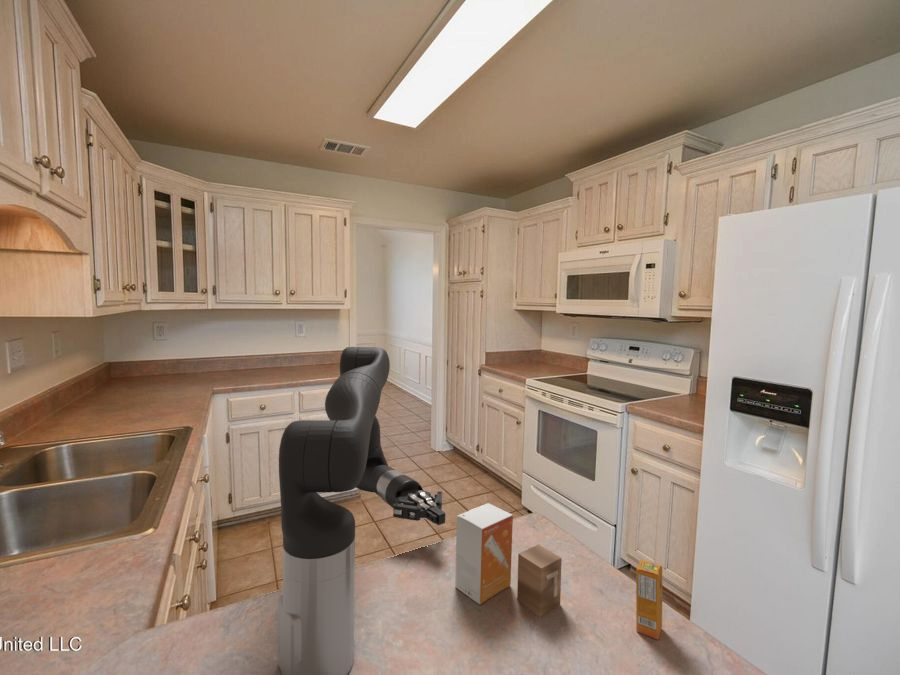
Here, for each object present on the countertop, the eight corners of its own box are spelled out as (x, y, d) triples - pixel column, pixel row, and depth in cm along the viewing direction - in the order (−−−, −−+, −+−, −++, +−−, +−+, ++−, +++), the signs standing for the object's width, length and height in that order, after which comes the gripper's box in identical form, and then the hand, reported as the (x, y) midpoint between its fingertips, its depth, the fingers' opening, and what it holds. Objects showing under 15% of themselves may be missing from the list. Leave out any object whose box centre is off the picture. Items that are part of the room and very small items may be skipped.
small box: (480, 606, 68) (481, 529, 67) (454, 587, 73) (455, 514, 72) (512, 586, 73) (513, 514, 73) (485, 569, 78) (487, 501, 78)
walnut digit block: (541, 618, 66) (542, 569, 65) (517, 599, 70) (518, 553, 70) (561, 605, 69) (562, 558, 68) (537, 588, 73) (538, 544, 72)
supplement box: (638, 618, 66) (640, 557, 65) (662, 628, 64) (664, 565, 63) (633, 631, 63) (636, 567, 63) (658, 641, 61) (661, 576, 61)
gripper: (373, 480, 92) (414, 509, 78) (423, 469, 100) (468, 493, 86) (372, 513, 93) (413, 548, 79) (422, 499, 100) (467, 528, 87)
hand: (442, 519), depth 83 cm, fingers closed
